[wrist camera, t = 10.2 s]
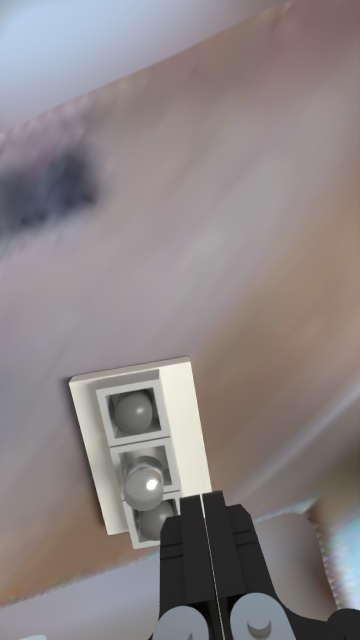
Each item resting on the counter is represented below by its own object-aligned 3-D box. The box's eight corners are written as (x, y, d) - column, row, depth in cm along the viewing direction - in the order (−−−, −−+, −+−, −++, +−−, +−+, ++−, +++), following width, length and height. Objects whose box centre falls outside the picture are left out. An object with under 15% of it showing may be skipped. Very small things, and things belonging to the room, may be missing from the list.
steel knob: (160, 452, 38) (159, 473, 34) (166, 483, 39) (166, 507, 35) (124, 459, 38) (120, 480, 34) (131, 489, 39) (128, 514, 35)
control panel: (188, 355, 41) (192, 371, 36) (213, 504, 46) (219, 535, 41) (73, 376, 41) (61, 394, 36) (110, 522, 46) (104, 556, 41)
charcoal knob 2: (170, 487, 42) (170, 508, 39) (175, 514, 43) (176, 537, 40) (138, 492, 42) (136, 514, 39) (144, 519, 43) (142, 543, 40)
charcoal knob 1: (149, 383, 39) (148, 396, 36) (155, 414, 40) (155, 430, 37) (114, 389, 39) (110, 403, 36) (121, 420, 40) (118, 437, 37)
